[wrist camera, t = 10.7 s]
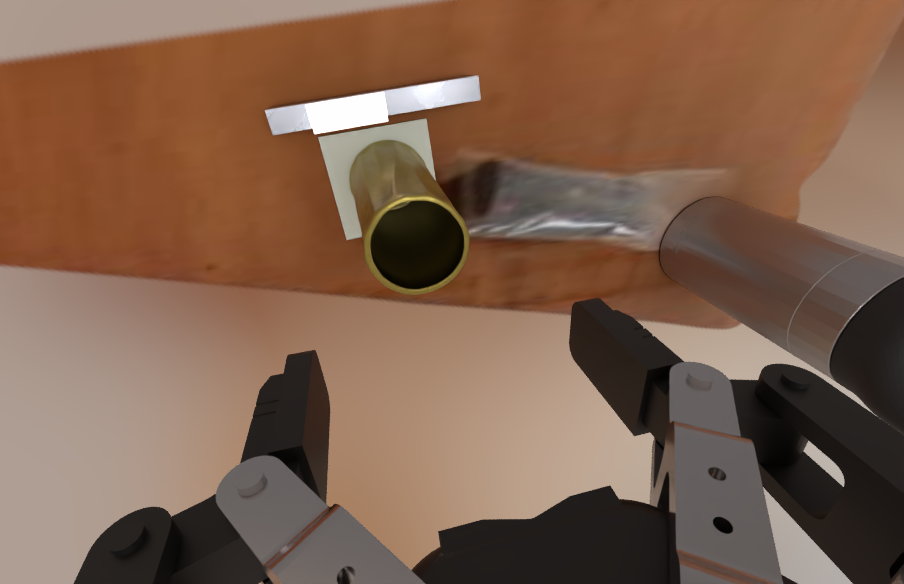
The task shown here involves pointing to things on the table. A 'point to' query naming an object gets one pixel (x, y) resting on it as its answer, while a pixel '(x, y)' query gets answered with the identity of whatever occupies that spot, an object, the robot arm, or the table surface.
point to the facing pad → (349, 144)
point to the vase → (406, 220)
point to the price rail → (371, 105)
